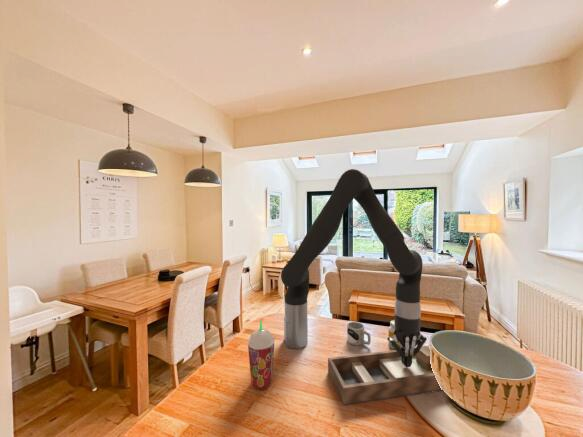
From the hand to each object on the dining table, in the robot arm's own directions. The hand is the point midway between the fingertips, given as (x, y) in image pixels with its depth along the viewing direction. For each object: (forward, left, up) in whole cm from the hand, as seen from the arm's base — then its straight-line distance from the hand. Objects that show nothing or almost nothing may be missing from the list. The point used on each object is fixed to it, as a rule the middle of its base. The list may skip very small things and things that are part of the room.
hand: (406, 365), depth 80 cm
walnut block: (+8, 0, -1) cm, 8 cm away
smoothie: (-46, +6, -4) cm, 47 cm away
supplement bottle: (+7, +17, -4) cm, 18 cm away
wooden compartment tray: (-6, 0, -4) cm, 7 cm away
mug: (-6, +22, -4) cm, 23 cm away
